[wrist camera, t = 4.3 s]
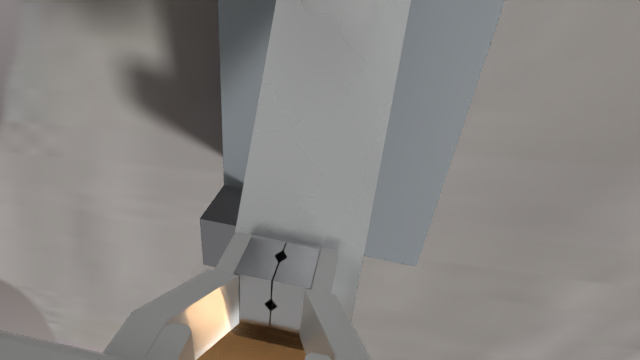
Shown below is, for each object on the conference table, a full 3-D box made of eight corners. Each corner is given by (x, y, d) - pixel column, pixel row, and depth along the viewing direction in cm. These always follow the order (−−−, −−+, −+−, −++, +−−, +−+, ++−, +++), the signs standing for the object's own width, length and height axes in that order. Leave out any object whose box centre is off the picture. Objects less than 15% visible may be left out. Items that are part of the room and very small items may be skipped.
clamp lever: (434, -137, 12) (455, -222, 10) (338, 382, 13) (333, 435, 10) (311, -150, 13) (300, -235, 10) (221, 355, 13) (187, 399, 10)
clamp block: (528, -192, 16) (651, -321, 8) (412, 204, 26) (418, 309, 19) (265, -216, 17) (153, -352, 9) (257, 175, 27) (203, 264, 20)
